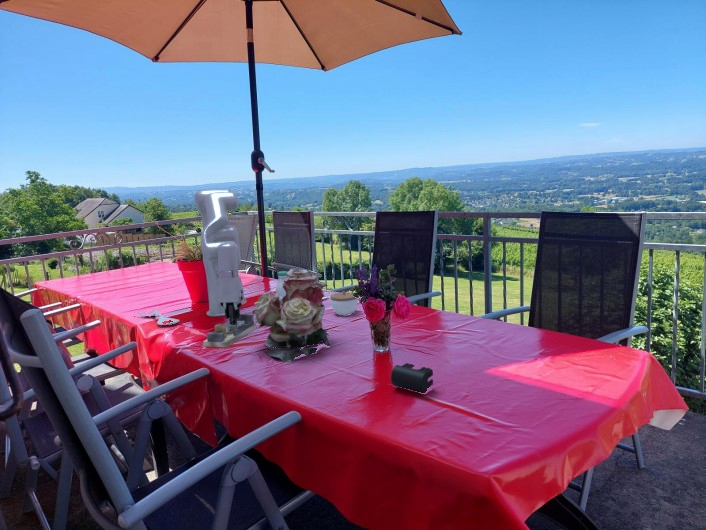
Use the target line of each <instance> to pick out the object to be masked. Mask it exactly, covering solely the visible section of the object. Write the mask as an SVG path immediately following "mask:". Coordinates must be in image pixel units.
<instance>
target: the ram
mask: <svg viewBox="0 0 706 530" xmlns="http://www.w3.org/2000/svg"><path fill="white" fill-rule="evenodd" d="M234 309H235V307H234V303H228V312H229V318H228V321H226V322H224V323H223V324H225V326H226V333H233V332H234V331H236V330H238V329H239V328H241V327H242V326H244V325H245V321H237V319H234Z"/></svg>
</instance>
